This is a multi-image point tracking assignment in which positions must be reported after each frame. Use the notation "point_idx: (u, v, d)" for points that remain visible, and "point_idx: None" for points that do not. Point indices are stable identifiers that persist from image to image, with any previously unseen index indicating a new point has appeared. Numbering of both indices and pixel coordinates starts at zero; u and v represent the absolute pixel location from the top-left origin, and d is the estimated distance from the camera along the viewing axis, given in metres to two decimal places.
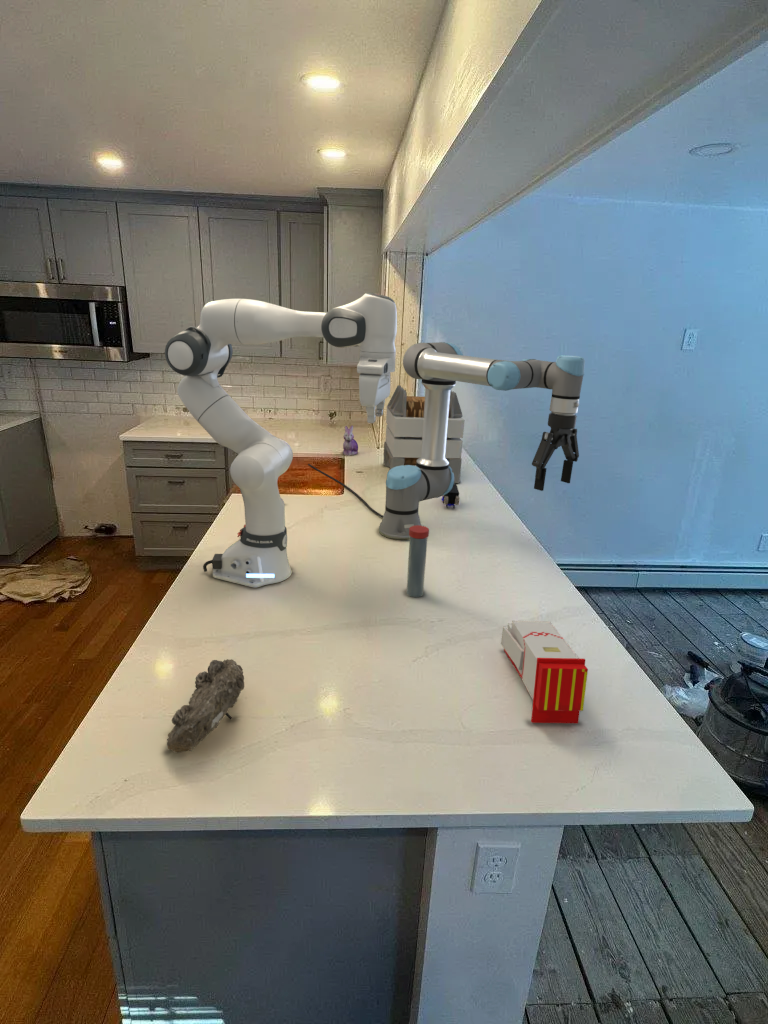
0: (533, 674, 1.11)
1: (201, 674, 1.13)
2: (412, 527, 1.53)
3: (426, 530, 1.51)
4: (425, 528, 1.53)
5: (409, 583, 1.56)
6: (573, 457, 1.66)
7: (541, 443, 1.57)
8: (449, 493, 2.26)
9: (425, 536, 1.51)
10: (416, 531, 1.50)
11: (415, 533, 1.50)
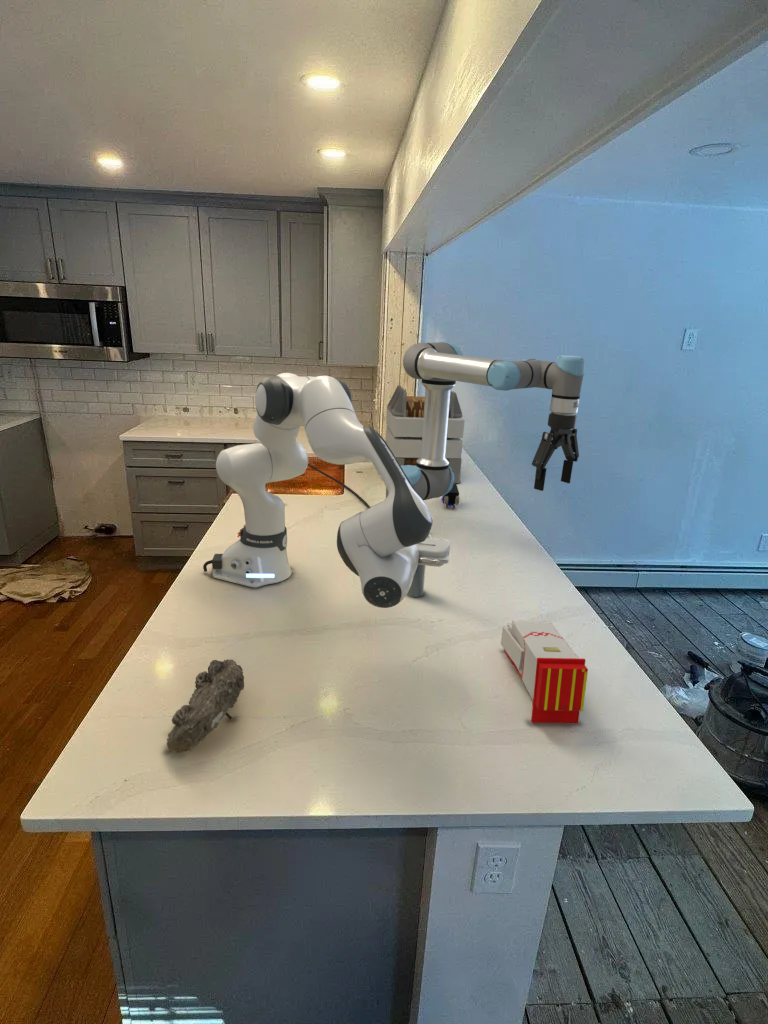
0: (533, 674, 1.11)
1: (201, 674, 1.13)
2: None
3: None
4: None
5: None
6: (573, 457, 1.66)
7: (541, 443, 1.57)
8: (449, 493, 2.26)
9: None
10: None
11: None
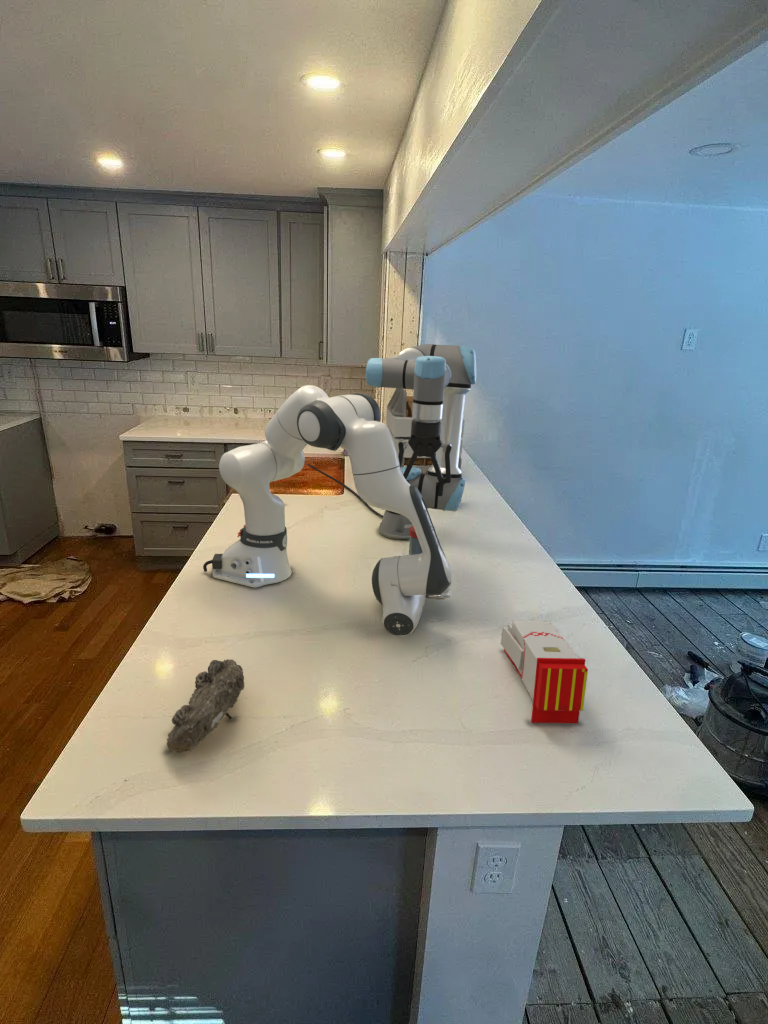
0: (533, 674, 1.11)
1: (201, 674, 1.13)
2: (412, 527, 1.53)
3: None
4: None
5: None
6: None
7: (449, 458, 1.44)
8: None
9: None
10: None
11: (415, 533, 1.50)
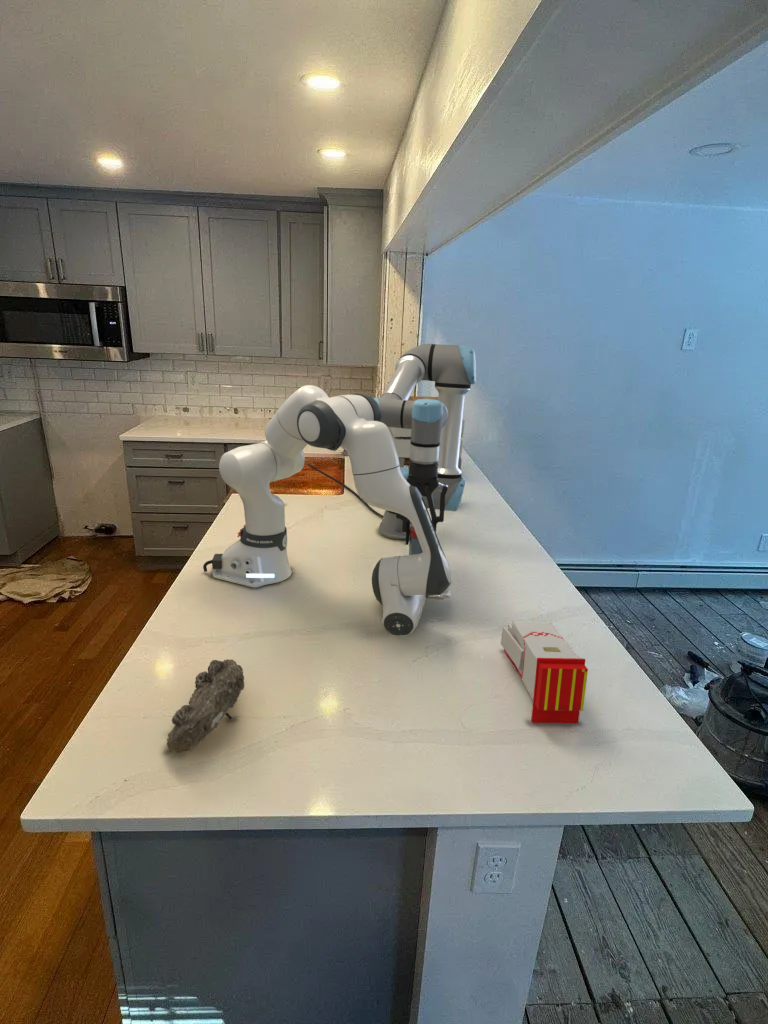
0: (533, 674, 1.11)
1: (201, 674, 1.13)
2: (412, 527, 1.53)
3: None
4: None
5: None
6: None
7: (444, 498, 1.48)
8: None
9: None
10: None
11: (415, 533, 1.50)
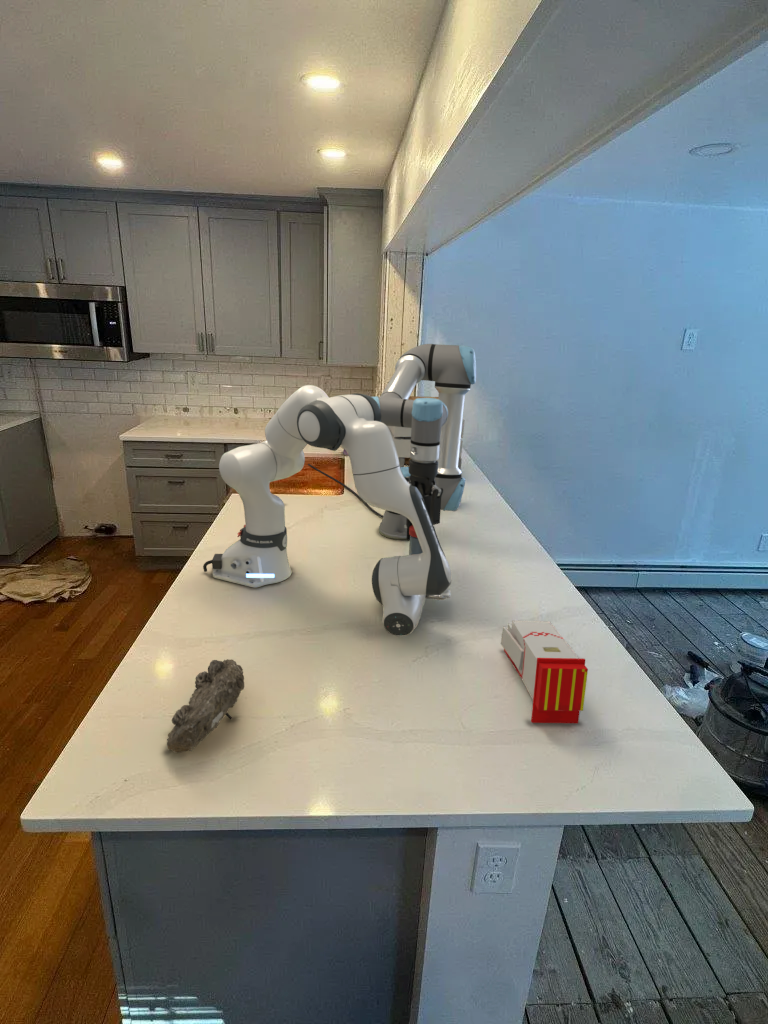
0: (533, 674, 1.11)
1: (201, 674, 1.13)
2: None
3: None
4: (413, 526, 1.53)
5: None
6: None
7: None
8: None
9: None
10: None
11: None
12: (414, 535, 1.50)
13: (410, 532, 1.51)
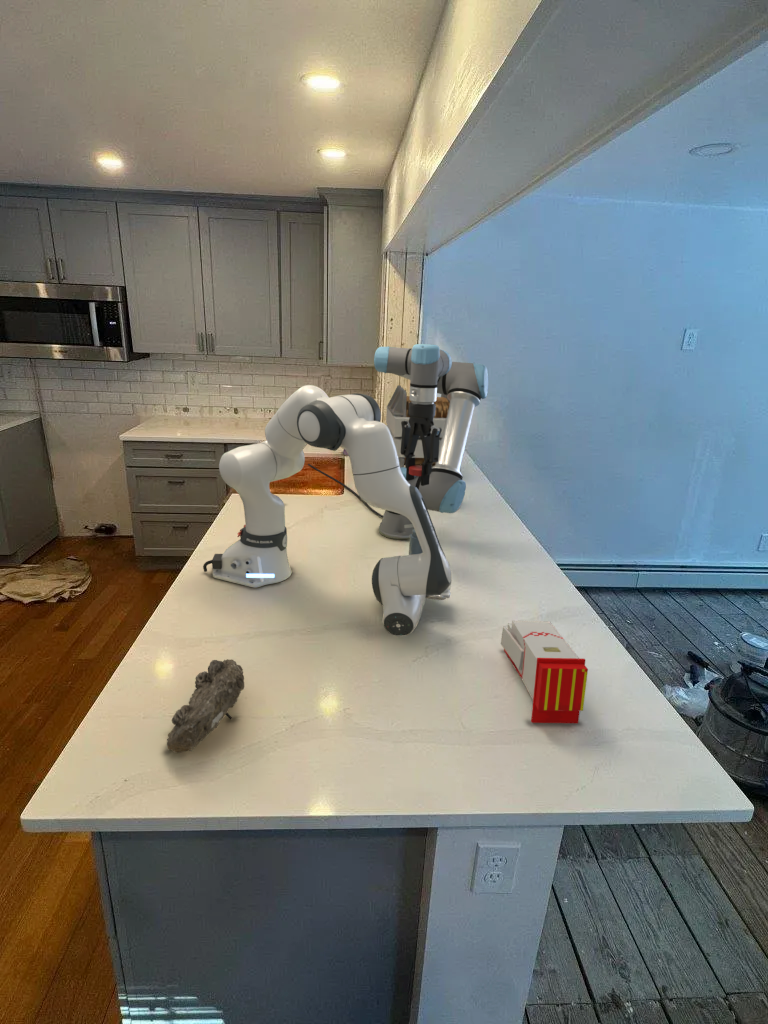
0: (533, 674, 1.11)
1: (201, 674, 1.13)
2: (421, 469, 1.62)
3: (414, 465, 1.66)
4: (412, 466, 1.64)
5: None
6: (425, 458, 1.59)
7: None
8: None
9: None
10: None
11: None
12: (414, 474, 1.62)
13: (410, 471, 1.63)
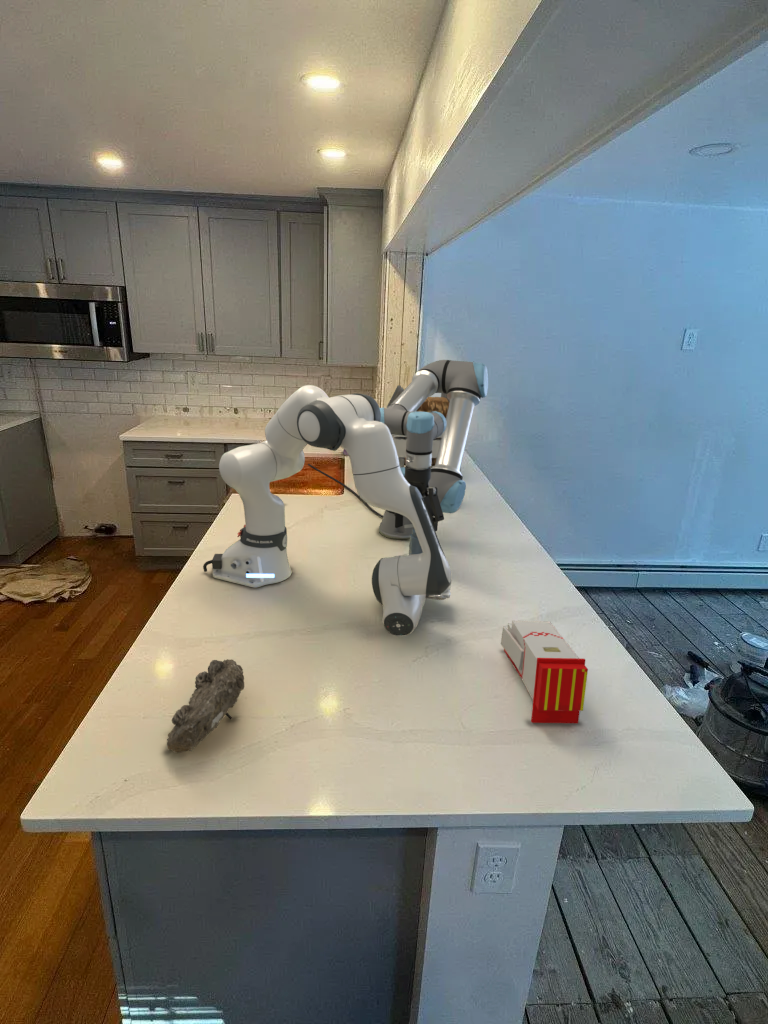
0: (533, 674, 1.11)
1: (201, 674, 1.13)
2: None
3: None
4: None
5: None
6: None
7: None
8: None
9: None
10: None
11: None
12: None
13: None
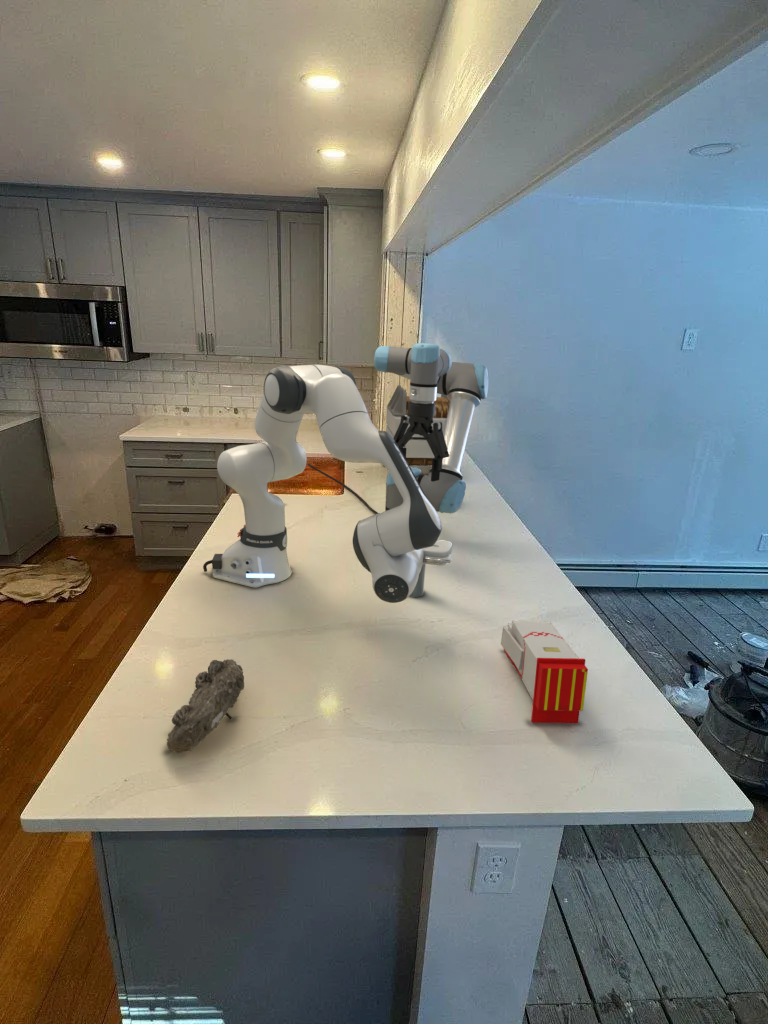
0: (533, 674, 1.11)
1: (201, 674, 1.13)
2: None
3: None
4: None
5: None
6: (435, 454, 1.56)
7: None
8: None
9: None
10: None
11: None
12: None
13: None
